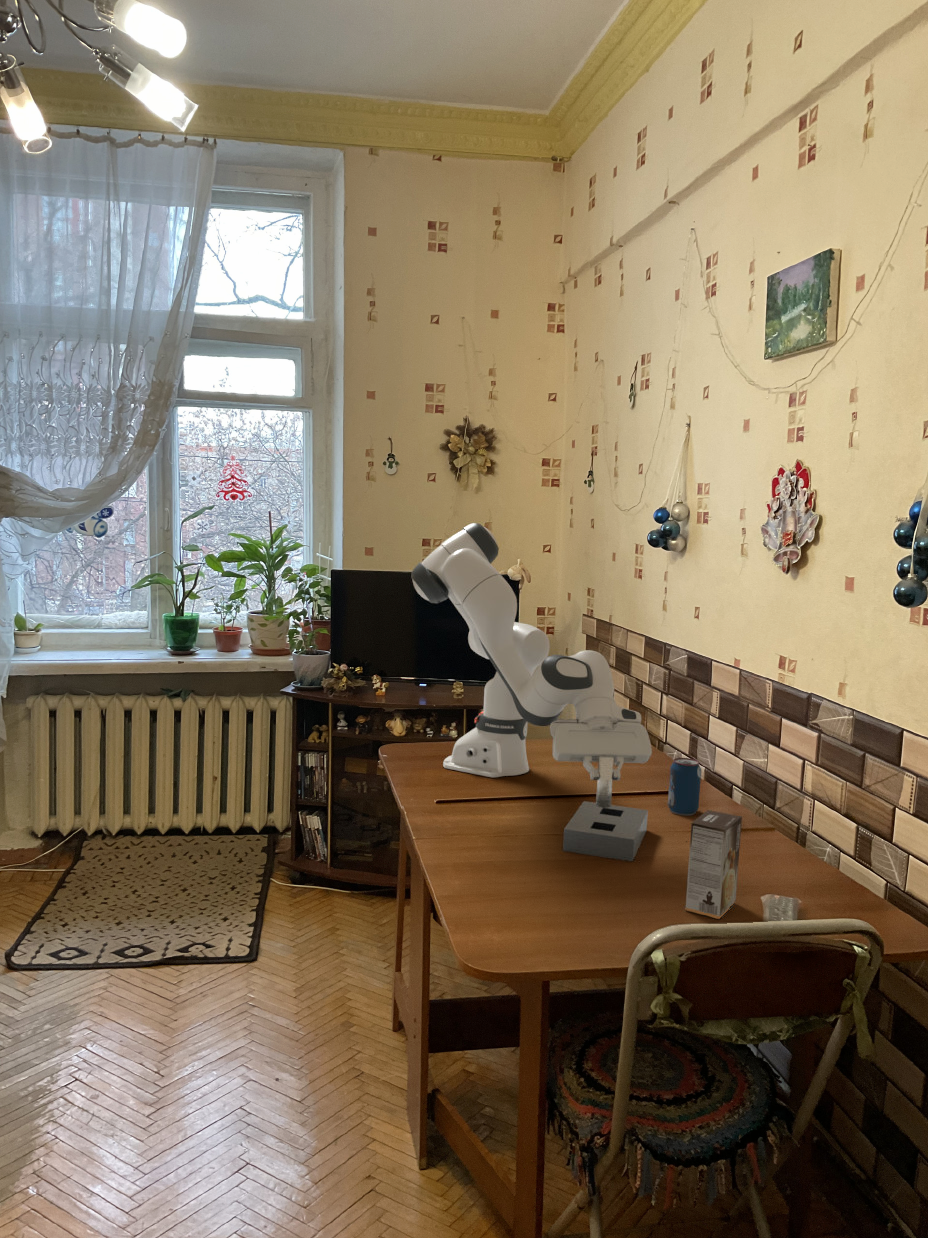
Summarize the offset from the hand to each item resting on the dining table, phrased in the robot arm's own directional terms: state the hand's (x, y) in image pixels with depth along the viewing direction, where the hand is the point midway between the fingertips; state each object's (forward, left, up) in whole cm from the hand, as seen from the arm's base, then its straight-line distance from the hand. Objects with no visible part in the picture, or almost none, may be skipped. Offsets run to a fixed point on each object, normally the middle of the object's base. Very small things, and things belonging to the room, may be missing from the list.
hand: (605, 779), depth 190 cm
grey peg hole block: (0, +6, -15) cm, 16 cm away
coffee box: (+23, -20, -15) cm, 34 cm away
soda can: (+13, +33, -15) cm, 38 cm away
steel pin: (0, 0, -6) cm, 6 cm away
